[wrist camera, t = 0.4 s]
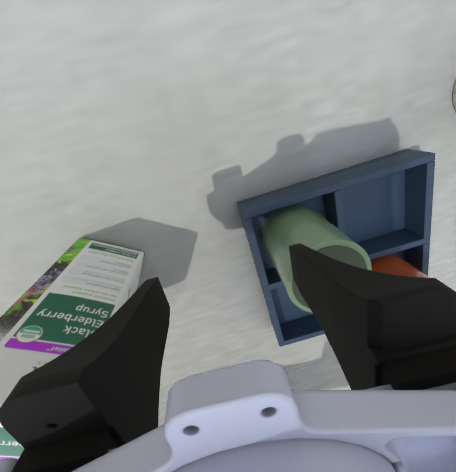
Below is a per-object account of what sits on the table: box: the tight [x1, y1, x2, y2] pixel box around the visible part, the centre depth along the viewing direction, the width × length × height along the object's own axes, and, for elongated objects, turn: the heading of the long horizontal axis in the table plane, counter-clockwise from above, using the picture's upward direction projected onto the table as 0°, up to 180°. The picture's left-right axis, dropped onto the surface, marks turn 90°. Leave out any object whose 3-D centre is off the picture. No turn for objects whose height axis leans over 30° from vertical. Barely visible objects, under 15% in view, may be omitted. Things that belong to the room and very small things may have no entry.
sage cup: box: [261, 202, 371, 313], centre depth 20 cm, size 6×6×8 cm
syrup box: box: [0, 238, 144, 460], centre depth 18 cm, size 6×6×14 cm
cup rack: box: [237, 149, 435, 347], centre depth 24 cm, size 15×15×3 cm
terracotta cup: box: [370, 253, 430, 278], centre depth 23 cm, size 6×6×8 cm
